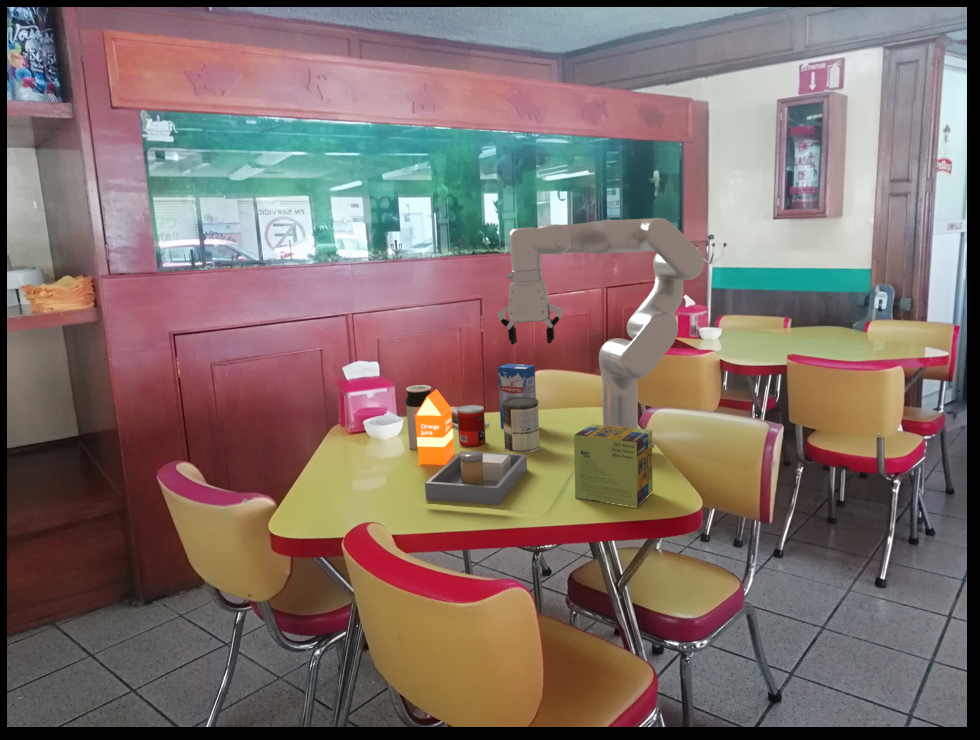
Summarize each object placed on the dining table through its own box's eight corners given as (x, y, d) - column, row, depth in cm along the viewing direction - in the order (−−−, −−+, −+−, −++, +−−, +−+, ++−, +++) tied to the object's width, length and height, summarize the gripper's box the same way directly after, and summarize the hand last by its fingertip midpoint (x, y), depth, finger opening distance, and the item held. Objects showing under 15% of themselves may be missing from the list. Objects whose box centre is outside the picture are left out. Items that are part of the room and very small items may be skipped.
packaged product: (434, 408, 232) (458, 403, 238) (435, 422, 233) (459, 417, 239) (463, 418, 218) (489, 412, 224) (464, 433, 219) (490, 427, 224)
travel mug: (429, 451, 201) (425, 391, 197) (404, 449, 203) (400, 390, 200) (440, 443, 208) (436, 385, 205) (416, 441, 211) (412, 384, 207)
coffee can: (497, 451, 198) (495, 403, 195) (517, 441, 206) (515, 395, 203) (527, 456, 192) (525, 407, 189) (546, 446, 200) (545, 398, 197)
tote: (527, 473, 178) (526, 454, 177) (499, 509, 156) (498, 488, 155) (462, 469, 184) (461, 451, 183) (426, 503, 162) (424, 482, 161)
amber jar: (479, 495, 162) (478, 458, 160) (458, 493, 164) (456, 457, 162) (487, 487, 167) (485, 452, 165) (466, 485, 169) (465, 450, 167)
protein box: (638, 509, 152) (637, 442, 149) (574, 498, 160) (572, 434, 157) (653, 493, 161) (653, 429, 158) (592, 483, 169) (591, 422, 166)
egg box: (511, 472, 177) (510, 454, 176) (503, 481, 170) (502, 463, 169) (471, 469, 180) (470, 452, 179) (461, 478, 174) (460, 461, 173)
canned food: (485, 447, 202) (483, 410, 200) (458, 448, 202) (456, 412, 200) (486, 439, 210) (484, 404, 207) (460, 440, 210) (457, 405, 208)
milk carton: (537, 426, 221) (534, 365, 217) (527, 431, 216) (525, 369, 212) (510, 423, 226) (507, 363, 222) (500, 428, 221) (497, 367, 217)
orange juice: (454, 457, 194) (450, 388, 190) (446, 468, 185) (441, 396, 182) (428, 457, 196) (423, 388, 192) (418, 467, 187) (413, 395, 183)
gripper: (490, 280, 175) (495, 346, 178) (557, 276, 169) (561, 344, 173) (499, 277, 182) (503, 341, 185) (563, 273, 176) (567, 339, 180)
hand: (531, 343), depth 179 cm, fingers open, 9 cm apart
